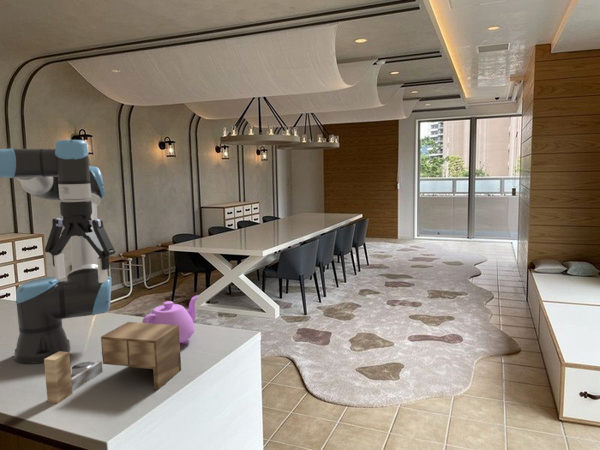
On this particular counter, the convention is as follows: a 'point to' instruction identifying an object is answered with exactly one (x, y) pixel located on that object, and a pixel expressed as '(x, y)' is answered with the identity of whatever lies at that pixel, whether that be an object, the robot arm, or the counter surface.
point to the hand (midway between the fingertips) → (81, 280)
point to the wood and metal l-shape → (65, 376)
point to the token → (80, 367)
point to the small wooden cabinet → (144, 349)
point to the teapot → (175, 318)
